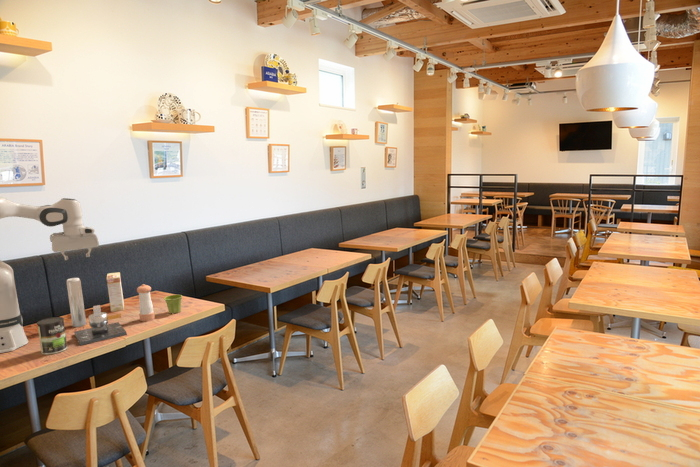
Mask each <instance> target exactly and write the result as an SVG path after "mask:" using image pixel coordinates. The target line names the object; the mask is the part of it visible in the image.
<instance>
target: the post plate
mask: <svg viewBox="0 0 700 467" xmlns="http://www.w3.org/2000/svg"><path fill="white" fill-rule="evenodd" d="M127 334H128V333H127V331H126V329H124V327H123V326H122V324H121V323H120V322H119V321H118V322H113V323H107V324H106V325H103V326H100V327H89V328H85V329H81V330H75V331H74V336H75V338H76V341H77V342H78V345H79V346H85V345H89V344H93V343H97V342H102V341H105V340H110V339H113V338H119V337H122V336H127Z"/></svg>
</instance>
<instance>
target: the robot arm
mask: <svg viewBox="0 0 700 467" xmlns="http://www.w3.org/2000/svg"><path fill="white" fill-rule="evenodd" d="M82 212H83V211H82V206H81V204H80V201H78V200H77V199H75V198H65V197H64V198H61V199H60V200H59V201H57V202H55V203H53V204H47V205H46V204H45V205H41V206H36V205H29V204H23V203H18V202H14V201H11V200H8V199H7V198H4V197H1V196H0V220H1V219H4V218H10V217H11V218H12V217H17V218H23V219H30V220H31V219H32V220H36V221H38V222H40V223H41V224H43V225H44V226H46V227H50V228H51V227H56V226H60V225H62V229H63V231H60V232H53V233H52V234H50V236H49V241H50V242H51V250H52V252H54V253H61V254H62V256H63V258H64V261H67V260H69V256H68V255H65V253H66V252H67V251H75V250H76V251H77V250H83V249H87V250H88V252H87V253H85V257H86V258H90V257H91V252H92V249H93V248H98V247H99V246H100V243H99V238H98V236H97V234H96V233H95V228H92V227H88V226H84V222H83V219H82V218H83V213H82ZM14 274H15V273H14V269H13V268H12V266H10V264H7V263H6V262H4V261H2V260H1V259H0V354H2V353H8V352H13V351H15V350H17V349H18V348H20V347H23V346H25V345H27V344H28V343H29V339H28V337H27V335H26V333H25V330H24V327H23V324H24V323H23V322H24V321H23V316H22V314H21V311H20V306H19V300H18V294H17V293H18V292H17V289H16V288H17V287H16V281H15V275H14Z"/></svg>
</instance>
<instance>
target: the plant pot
mask: <svg viewBox="0 0 700 467" xmlns="http://www.w3.org/2000/svg"><path fill="white" fill-rule="evenodd" d="M182 298H183V295H182V294H172V295H166V296H165V297H164V298H163V299H164V300H165V303H166V305H167V306H166V307H167V310H168V313H169V314H171V313H174V314H177V313H178V312H179V313H180V312H181V310H182V308H181V307H182Z"/></svg>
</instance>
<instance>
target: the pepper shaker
mask: <svg viewBox="0 0 700 467" xmlns="http://www.w3.org/2000/svg"><path fill="white" fill-rule="evenodd" d="M151 291H152V287H151V286H150V285H147V284H144V283H143V284H141V285H140V286H138V287H137V288H136V293H138V299H139V306H138V309H139V314H138V315H139V321H140V322H150V321H152V320H153V321H154V320H155V318H156V317H155V311H154V306H153V302H152V298H151Z"/></svg>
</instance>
